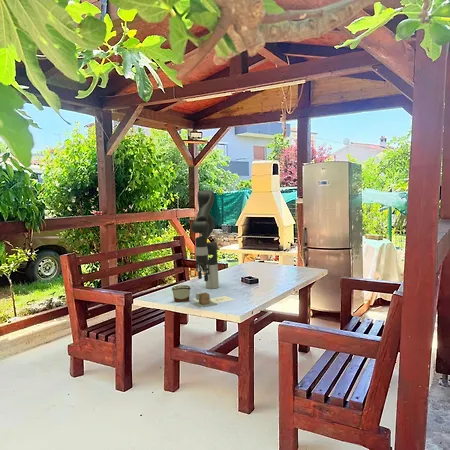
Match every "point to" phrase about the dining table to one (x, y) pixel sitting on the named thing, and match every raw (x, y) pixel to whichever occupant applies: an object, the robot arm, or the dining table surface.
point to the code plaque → (221, 299)
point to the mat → (204, 305)
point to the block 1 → (198, 295)
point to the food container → (181, 293)
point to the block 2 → (204, 298)
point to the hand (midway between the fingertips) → (203, 280)
